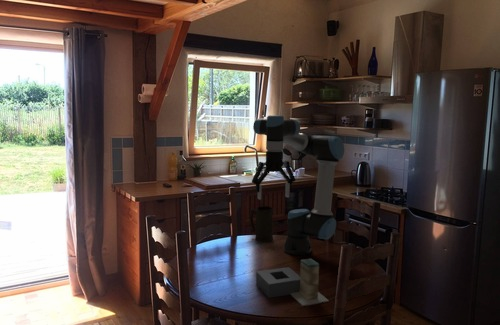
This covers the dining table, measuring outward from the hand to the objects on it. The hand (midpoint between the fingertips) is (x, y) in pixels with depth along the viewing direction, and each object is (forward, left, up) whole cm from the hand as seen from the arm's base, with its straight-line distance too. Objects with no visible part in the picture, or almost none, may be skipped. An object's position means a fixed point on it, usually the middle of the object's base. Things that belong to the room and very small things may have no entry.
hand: (273, 198), depth 182 cm
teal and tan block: (-8, +20, -38) cm, 44 cm away
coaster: (-8, +20, -39) cm, 44 cm away
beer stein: (-18, -57, -39) cm, 71 cm away
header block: (0, +8, -39) cm, 40 cm away
